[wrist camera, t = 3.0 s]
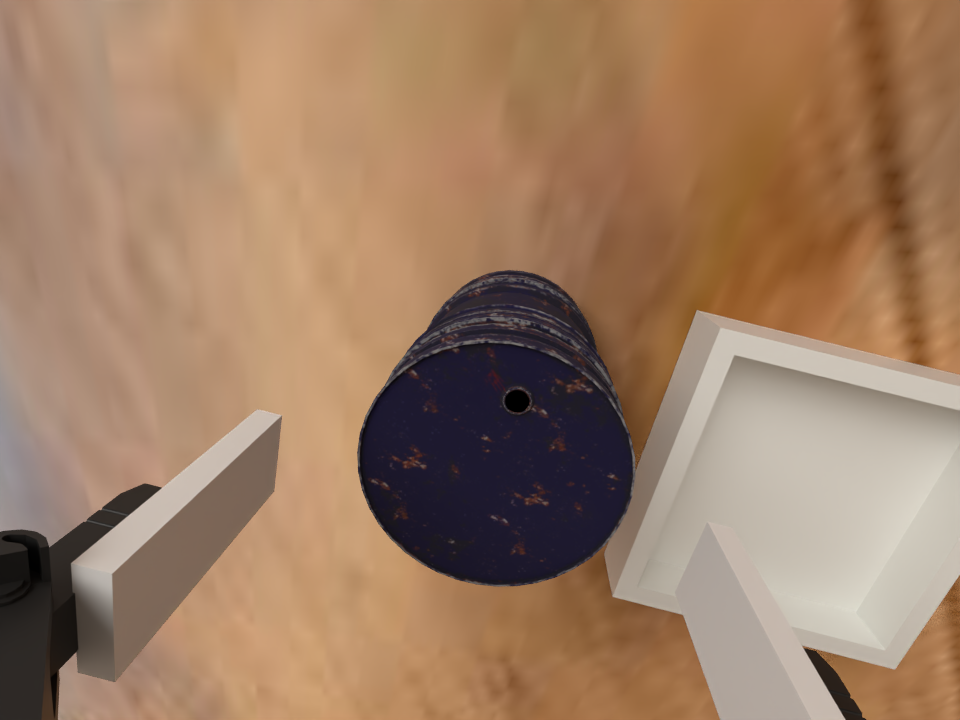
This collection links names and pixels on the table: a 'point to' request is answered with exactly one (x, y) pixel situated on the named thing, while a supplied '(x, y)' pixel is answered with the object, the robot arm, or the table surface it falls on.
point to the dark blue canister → (499, 438)
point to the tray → (802, 484)
